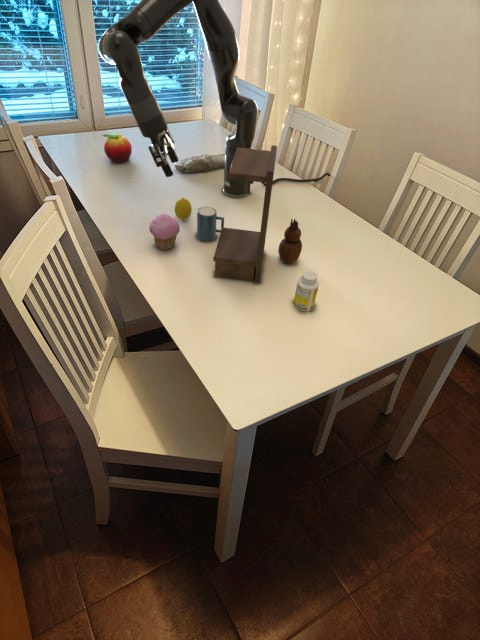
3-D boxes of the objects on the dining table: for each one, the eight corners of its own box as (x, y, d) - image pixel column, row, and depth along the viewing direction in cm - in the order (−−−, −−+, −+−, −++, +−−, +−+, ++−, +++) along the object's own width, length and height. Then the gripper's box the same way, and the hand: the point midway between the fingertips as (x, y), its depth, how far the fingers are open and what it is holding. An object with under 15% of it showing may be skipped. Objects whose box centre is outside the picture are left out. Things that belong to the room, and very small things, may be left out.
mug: (195, 240, 139) (195, 214, 132) (199, 230, 143) (199, 205, 137) (221, 243, 138) (223, 218, 132) (224, 233, 143) (225, 208, 137)
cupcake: (168, 235, 140) (167, 207, 133) (185, 247, 135) (185, 218, 129) (145, 245, 135) (142, 216, 128) (162, 257, 130) (160, 228, 124)
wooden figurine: (283, 268, 131) (291, 223, 121) (273, 257, 135) (280, 214, 124) (302, 263, 133) (311, 219, 123) (292, 253, 137) (300, 209, 127)
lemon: (188, 225, 145) (188, 203, 140) (172, 222, 146) (172, 200, 140) (193, 217, 149) (193, 195, 144) (178, 214, 150) (177, 192, 144)
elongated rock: (257, 167, 185) (245, 159, 192) (258, 154, 182) (246, 147, 189) (180, 175, 170) (170, 166, 177) (180, 162, 167) (170, 153, 173)
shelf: (212, 277, 125) (216, 164, 103) (220, 246, 137) (226, 140, 115) (259, 283, 125) (273, 171, 102) (263, 252, 137) (277, 145, 114)
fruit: (129, 166, 175) (127, 140, 168) (102, 164, 175) (98, 138, 168) (135, 155, 183) (132, 130, 176) (109, 153, 182) (105, 128, 176)
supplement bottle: (309, 297, 122) (316, 267, 115) (316, 310, 118) (324, 280, 111) (290, 299, 120) (296, 269, 113) (297, 313, 116) (303, 282, 109)
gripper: (154, 121, 112) (180, 177, 123) (165, 100, 122) (188, 153, 133) (129, 129, 114) (156, 184, 125) (141, 108, 124) (166, 160, 135)
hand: (172, 168), depth 129 cm, fingers open, 8 cm apart
